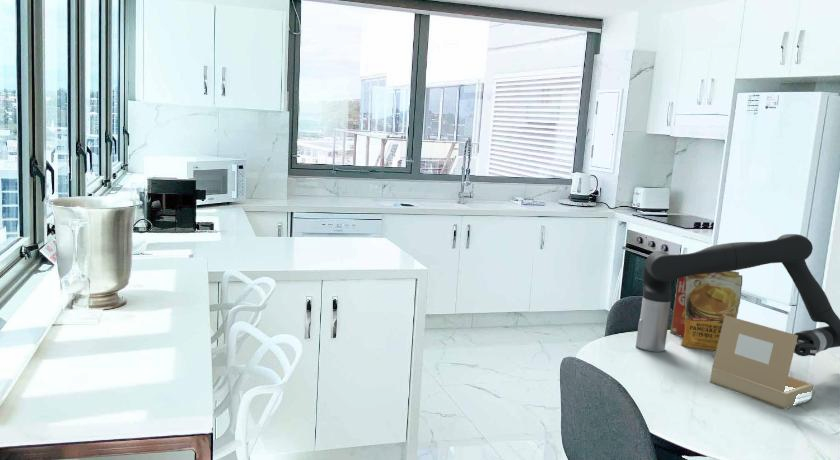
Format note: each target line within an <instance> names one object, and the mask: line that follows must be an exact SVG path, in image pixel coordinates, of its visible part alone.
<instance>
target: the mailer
mask: <svg viewBox="0 0 840 460" xmlns="http://www.w3.org/2000/svg"><path fill="white" fill-rule="evenodd" d="M709 383H711V384H713V385H716V386H719V387H721V388H724V389H727V390H729V391H732V392H736V393H738V394H740V395H743V396H746V397H749V398H751V399H754V400H756V401H760V402H763V403H765V404H767V405H768V404H769V405H771V406H772V407H773V406H774V407H776V408H778V409H781V410H786V409H790V408H792V407H794V406H793V404H794V402H795V399H796V396H797V395H798V394H802V393H807V392H811V391H812V393H813V391H814V386H815V385H814V384H812V383H810V382H807V381H803V380H802V379H797V378H794V377H793V376H792V377H791V376H789V375H788V378H787V382H786V386H788V387H793V388H795V389H792V390H789V391H786V392H781V391H778V390H775V389H772V388H769V387H767V386H764V385H761V384H758V383H755V382H752V381H749V380H746V379H743V378H741V377H738V376H735V375H732V374H729V373H726V372H723V371H720V370H718V369H715V368H712V367H711V371H710V379H709Z"/></svg>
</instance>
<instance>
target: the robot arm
mask: <svg viewBox="0 0 840 460" xmlns="http://www.w3.org/2000/svg"><path fill="white" fill-rule="evenodd" d="M813 247H814V246H813V243H812V242H811V241H810V239H808V238H807V237H806V236H803V235H801V234H798V233H797V234H796V233H789V234H788V233H785V234H782V235H780V236H778V238H776V239H771V240H766V241H739V242H738V241H737V242H728V243H721V244H715V245H711V246H707V247H705V248H703V249H701V250H698V251H694V252H691V253H683V254H682V253H681V254H670V253H667V252H666V251H662V250H656V251H652V253H649V255H648V256H647V258H646V259H645V263H644V270H643V279H642V299H641V300H642V301H641V309H640V315H639V321H638V325H637V335H636V341H635V348H639V349H642V350H643V351H644V350H645V351H649V352H655V353H656V352H658V353H659V352H660V353H661V352H665V350H666V343H667V336H668V335H667V334H668V330H669V329H668V327H669V319H670V314H671V306H672V298H673V291H672V281H674V280H677V279H678V278H682V277H686V276H690V275H696V274H709V273H719V272H727V271H734V272H736V271H739V270H744V269H751V268H755V267H758V266H759V267H760V266H763V265H768V264H769V265H770V264H780V263H781V264H782V265H783V267H784V268H785V270H786V271H787V273H788V275H789V276H790V278H791V280H792V282H793V283H794V285H795V287H796V289H797V291H798V293H799V295H800V297H801V300H802V302H803V304H804V307H805V309H806V311H807V313H808V315H809V317H810V319H811V321H812V322H815V323H824V324H826V326H822V327H817V328H813V329H805V330H801V331H798V332H795V333H793V334H795V335H798V337H797V342H796V346H795V350H794V354H796V355H798V356H800V357H808V356H813V357H816V356H817V355H816V354H818V353H820V352H823V351H826V350H828V349H832V348H839V347H840V317H839V316H838V314H836V312H835V311H834V309H833V307H832V305H831V303H830V300H829V299H828V297H827V294H826V293H825V291H824V289H823V288H822V286H821V284H820V283H819V282H818V281H817V280H816V278H815V277H814V275H813V274H812V273H811V270H810V269H809V267H808V264H807V262H806V260H807V259H809V258H810V256H811V255H812V253H813V250H814V249H813ZM827 325H828V326H827Z"/></svg>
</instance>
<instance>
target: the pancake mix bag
mask: <svg viewBox="0 0 840 460" xmlns="http://www.w3.org/2000/svg"><path fill="white" fill-rule="evenodd" d="M742 286H743V275H742V274H740V272H739V271H727V272H719V273H709V274H696V275H690V276H686V292H685V307H686V312H685V322H684V323H685V331H684V337H683V336H682V340H681V343H680V346H684V347H687V348H688V349H689V348H691V349H695V350H702V351H709V352H715V353H716V349H717V345H718V341H719V337H720V332H721V326H722V325H723V320H724V316H725V315H726V316H730V317H734V318H737V319H738V315H739V314H738V313H739V309H740V308H739V307H740V304H741V295H742Z"/></svg>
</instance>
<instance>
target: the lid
mask: <svg viewBox="0 0 840 460" xmlns="http://www.w3.org/2000/svg"><path fill="white" fill-rule="evenodd" d="M797 337H798V335H795V334H794V333H790V332H787V331H784V330H779V329H776V328H773V327H769V326H765V325H762V324H758V323H754V322H750V321H747V320H744V319H741V318H738V317H737V318H734V317H730V316H726V315H725V316H724V320H723V325H722V329H721V333H720V337H719V341H718V345H717V349H716V352H715V355H714V358H713V361H712V366H711V369H712V368H715V369H718V370H720V371H723V372H726V373H729V374H732V375H735V376H738V377H741V378H743V379H746V380H749V381H752V382H755V383H758V384H761V385H764V386H767V387H769V388H772V389H775V390H778V391H781V392H784V390H785V386H786V382H787V378H788V376H789V374H790V370H791V365H792V361H793V357H794V354H795V353H794V350H795V346H796V342H797Z"/></svg>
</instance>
